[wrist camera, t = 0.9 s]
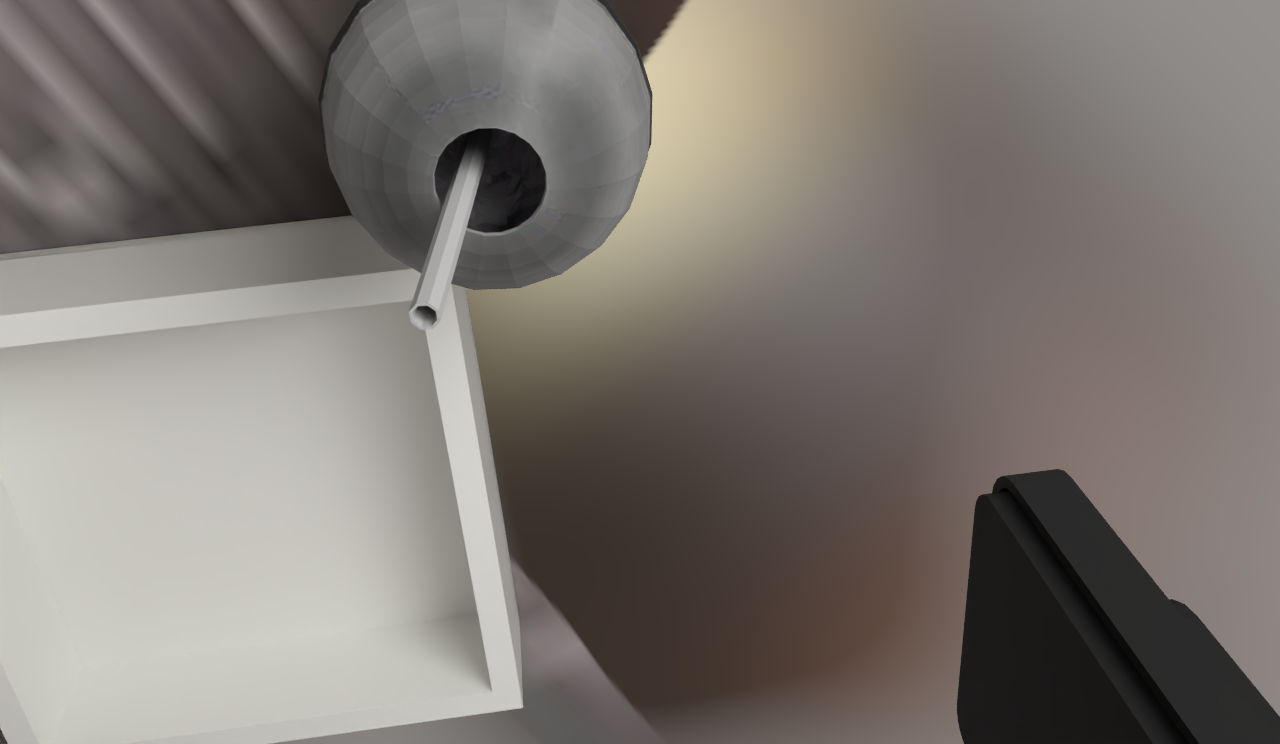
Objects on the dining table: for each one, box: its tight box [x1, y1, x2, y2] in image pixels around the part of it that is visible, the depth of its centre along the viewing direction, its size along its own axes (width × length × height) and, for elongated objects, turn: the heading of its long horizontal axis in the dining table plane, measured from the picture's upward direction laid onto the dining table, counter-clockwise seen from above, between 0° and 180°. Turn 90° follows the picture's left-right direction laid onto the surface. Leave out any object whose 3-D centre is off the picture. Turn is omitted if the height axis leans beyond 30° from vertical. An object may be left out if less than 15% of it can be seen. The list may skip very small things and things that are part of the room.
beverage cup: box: [319, 0, 652, 330], centre depth 26 cm, size 7×7×20 cm
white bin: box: [0, 215, 523, 744], centre depth 39 cm, size 18×18×5 cm
